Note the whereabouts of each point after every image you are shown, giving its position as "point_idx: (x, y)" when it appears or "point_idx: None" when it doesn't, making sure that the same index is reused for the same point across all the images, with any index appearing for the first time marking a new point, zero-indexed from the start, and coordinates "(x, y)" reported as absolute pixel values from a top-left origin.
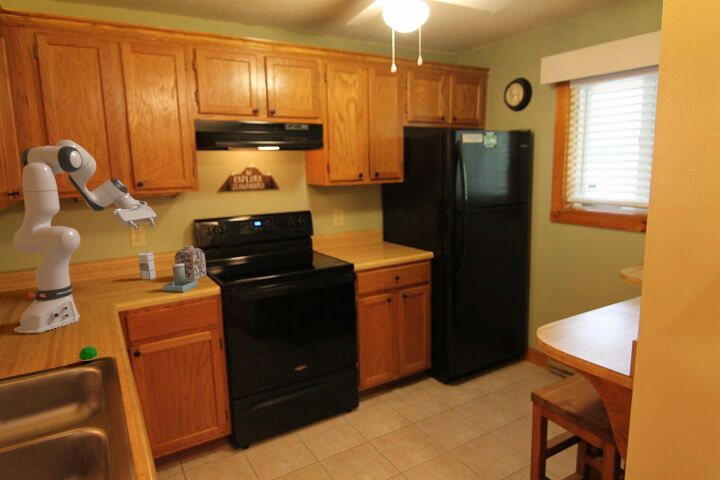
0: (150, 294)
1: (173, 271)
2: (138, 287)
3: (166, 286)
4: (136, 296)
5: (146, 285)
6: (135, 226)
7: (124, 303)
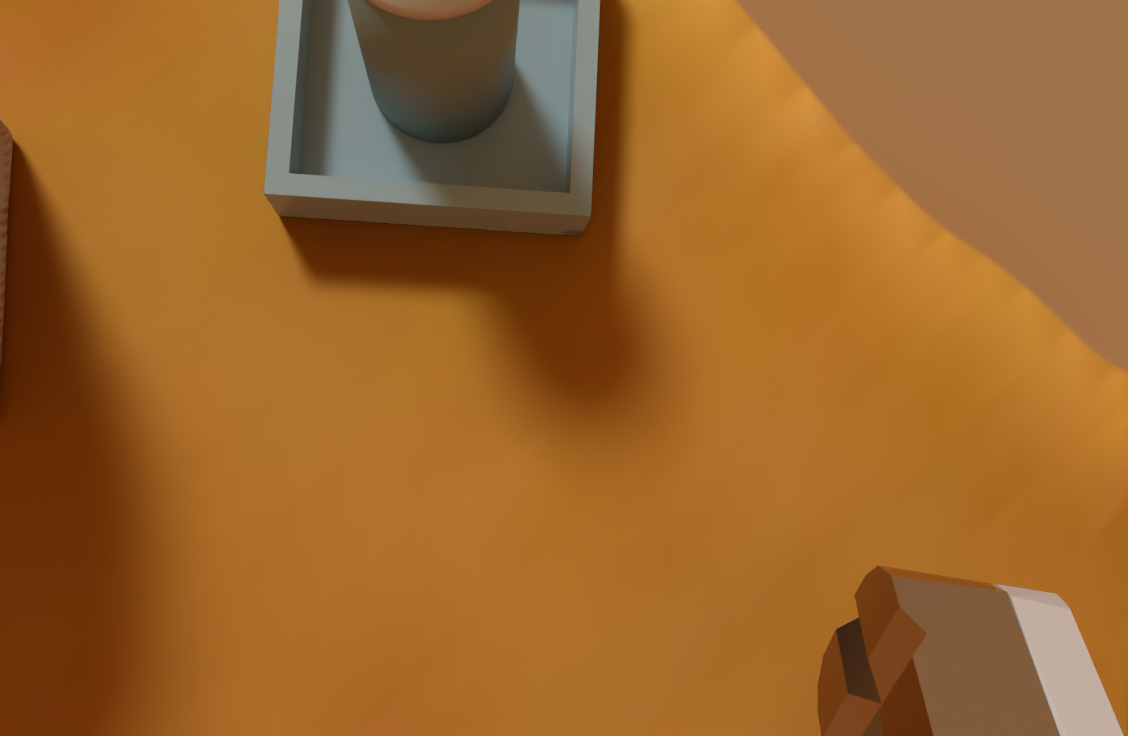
0: (724, 311)
1: (511, 8)
2: (447, 731)
3: (591, 158)
4: (826, 431)
5: (336, 690)
6: (1089, 711)
7: (1081, 370)
